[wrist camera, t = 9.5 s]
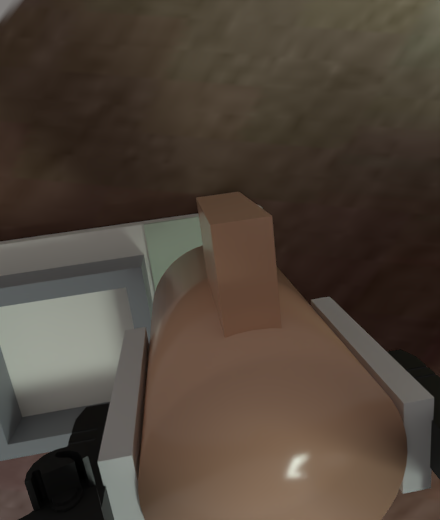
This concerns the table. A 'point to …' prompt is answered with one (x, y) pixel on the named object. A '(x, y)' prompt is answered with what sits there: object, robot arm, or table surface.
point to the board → (80, 311)
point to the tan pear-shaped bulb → (257, 392)
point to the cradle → (49, 287)
